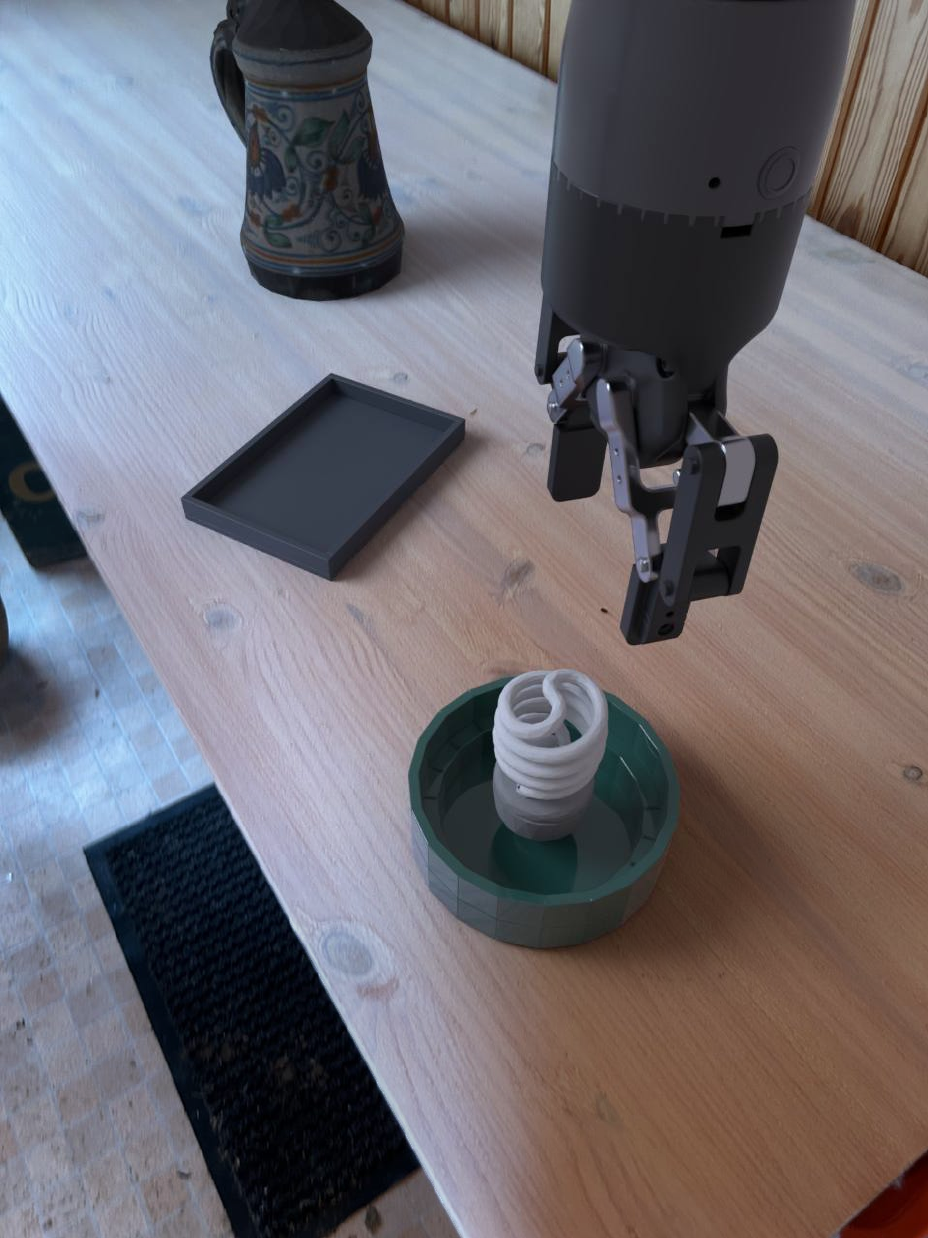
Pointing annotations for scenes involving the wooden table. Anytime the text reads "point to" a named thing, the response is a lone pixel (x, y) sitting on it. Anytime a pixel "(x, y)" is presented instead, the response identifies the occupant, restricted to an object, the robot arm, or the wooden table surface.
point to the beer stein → (307, 148)
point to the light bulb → (547, 751)
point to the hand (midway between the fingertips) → (607, 560)
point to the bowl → (528, 869)
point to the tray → (325, 474)
